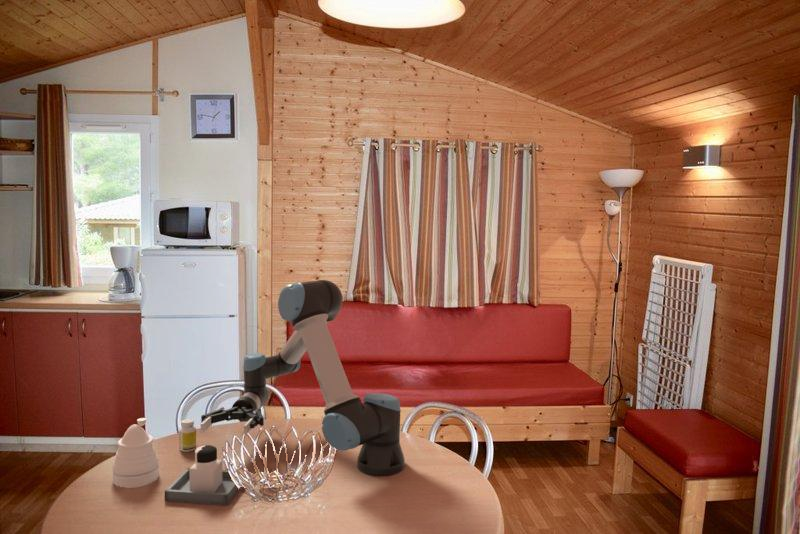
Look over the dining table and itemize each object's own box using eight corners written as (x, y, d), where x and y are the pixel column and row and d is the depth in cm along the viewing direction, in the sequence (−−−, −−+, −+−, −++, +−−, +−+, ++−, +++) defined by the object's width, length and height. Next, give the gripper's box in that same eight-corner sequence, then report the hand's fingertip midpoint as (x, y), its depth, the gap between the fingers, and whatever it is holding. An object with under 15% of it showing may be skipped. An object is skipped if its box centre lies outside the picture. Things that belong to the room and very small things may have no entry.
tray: (245, 481, 188) (245, 471, 188) (227, 505, 174) (227, 495, 173) (187, 477, 190) (187, 467, 190) (164, 501, 175) (164, 490, 175)
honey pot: (154, 465, 198) (152, 410, 196) (163, 481, 187) (162, 423, 185) (109, 474, 191) (107, 417, 189) (116, 491, 180) (114, 431, 178)
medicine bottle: (222, 482, 185) (222, 443, 184) (213, 494, 178) (213, 453, 177) (199, 481, 186) (198, 442, 184) (189, 492, 178) (188, 452, 177)
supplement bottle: (199, 448, 212) (199, 420, 211) (186, 453, 208) (186, 425, 206) (189, 444, 215) (188, 417, 214) (175, 449, 210) (175, 421, 209)
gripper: (282, 419, 212) (263, 442, 191) (210, 416, 214) (184, 439, 193) (282, 397, 211) (263, 418, 190) (210, 395, 213) (183, 415, 192)
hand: (223, 429), depth 192 cm, fingers open, 13 cm apart
